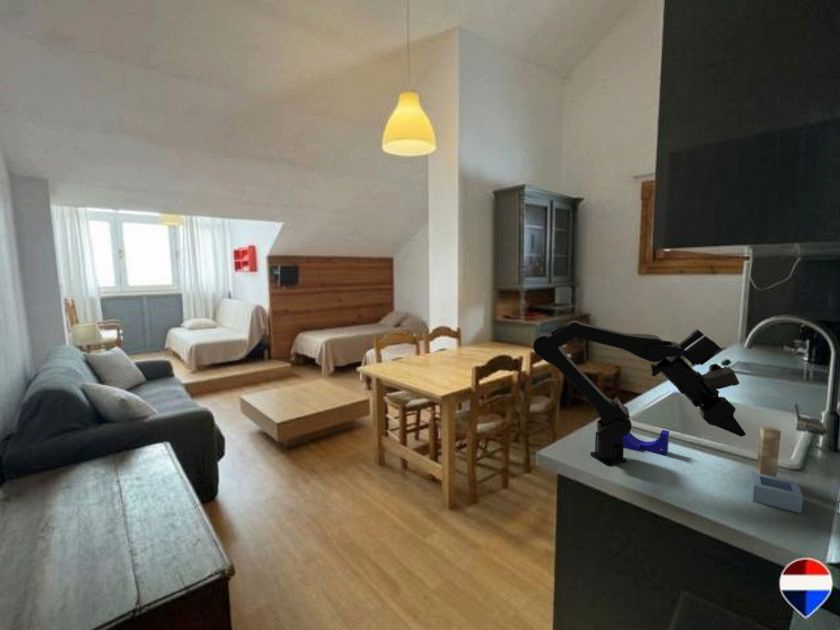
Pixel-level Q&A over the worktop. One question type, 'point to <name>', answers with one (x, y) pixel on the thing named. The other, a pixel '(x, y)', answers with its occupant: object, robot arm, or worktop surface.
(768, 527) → the worktop surface
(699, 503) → the worktop surface
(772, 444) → the slat
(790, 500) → the blue-grey socket block
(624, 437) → the cable clip
